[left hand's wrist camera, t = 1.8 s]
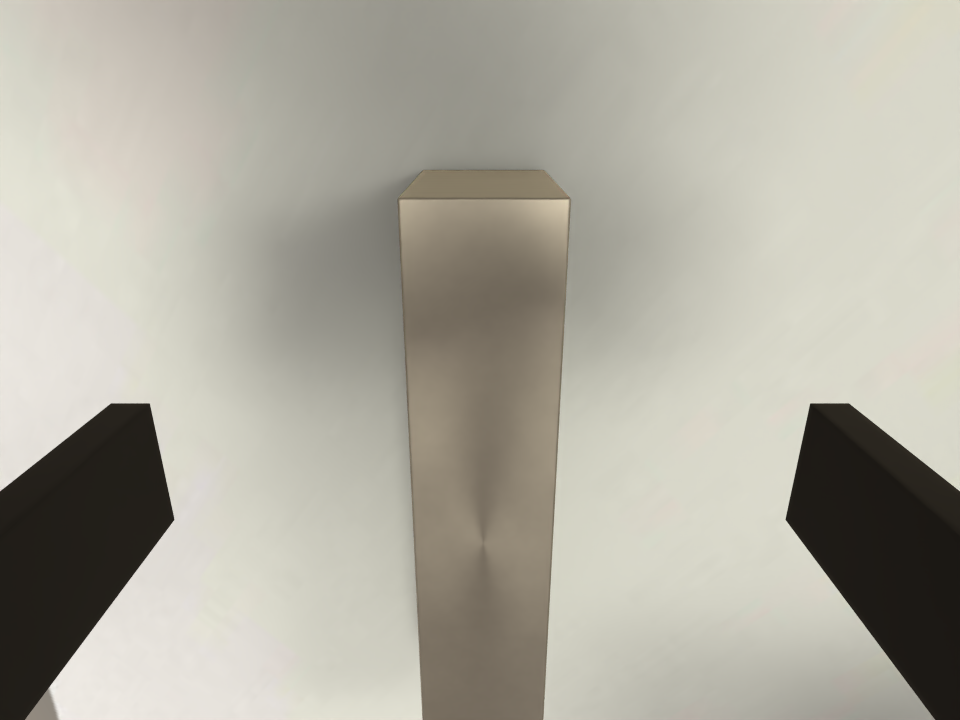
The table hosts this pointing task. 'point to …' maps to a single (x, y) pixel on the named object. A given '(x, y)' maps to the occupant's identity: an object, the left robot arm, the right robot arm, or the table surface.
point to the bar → (483, 430)
